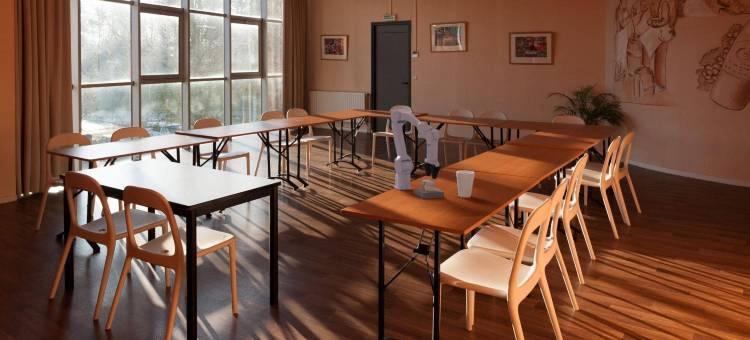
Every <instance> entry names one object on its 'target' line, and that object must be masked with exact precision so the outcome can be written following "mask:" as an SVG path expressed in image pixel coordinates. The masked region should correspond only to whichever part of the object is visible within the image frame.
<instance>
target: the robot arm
mask: <svg viewBox="0 0 750 340" xmlns="http://www.w3.org/2000/svg"><path fill="white" fill-rule="evenodd" d="M390 121H391V130H392V134H393V135H392V136H393V140H394V146H395V150H396V156H397V157H395V158H394V171H395V172H396V173H395V175H394V185H393V187H394V188H395V189H397V190H399V191H406V190H414V188H413V187H411V173H412V171H413V170H414V163H413V160H412V157H411V156H410V155H409V154H407V148H406V142H405V138H404V132H403V126H404V125H405V124H406V123H407V122H409V123H410V124H412V126H415V127H416V130H417V131H418V132H419V133H420V134H421V135H423V136H424V138H425V140H426V142H425V143H426V158H424V162H423V163H422V165H423V167H424V171H425V175H426V177H431V178H432V179H431V180H437V178H438V175H439V172H440V170H441V169H442V168H441V167H442V166H441V165H440V162H439V161H438V157H439V156H438V151H439V150H438V147H439V140H440V139H441V132H440V130H439V129H437V128H435V129H434V128H433V126H430V125H429V124H428V122H426V121H421V120H419V119H418V118H417V117H416V116H415V115H414V114H413V112H412V111H411V110H410V109H408V108H402V109H401V108H400V109H393V110H392V111H391V113H390Z"/></svg>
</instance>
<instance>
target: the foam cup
mask: <svg viewBox="0 0 750 340" xmlns="http://www.w3.org/2000/svg"><path fill="white" fill-rule="evenodd" d="M455 176H456V183H457V193H458V197H459V196H460V198H471V197H472V196H471V195H472V191H473V186H474V180H475V176H476V175H475V171H473V170H463V169H462V170H456V174H455Z"/></svg>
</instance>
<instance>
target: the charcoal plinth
mask: <svg viewBox="0 0 750 340" xmlns="http://www.w3.org/2000/svg"><path fill="white" fill-rule="evenodd" d="M413 195H415V196H417V197H418V198H420V199H423V200H424V199H425V200H426V199H439V198H440V199H441V198H445V196H444V195H445V191H443V190H441V189H439V188H437V187H435V191H424V190H422V187H417V188H413Z"/></svg>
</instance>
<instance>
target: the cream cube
mask: <svg viewBox="0 0 750 340" xmlns="http://www.w3.org/2000/svg"><path fill="white" fill-rule="evenodd" d="M435 184H436V182H435V180H433V179H422V180H421V188H422V190H424V191H435V188H436V187H435Z"/></svg>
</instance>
